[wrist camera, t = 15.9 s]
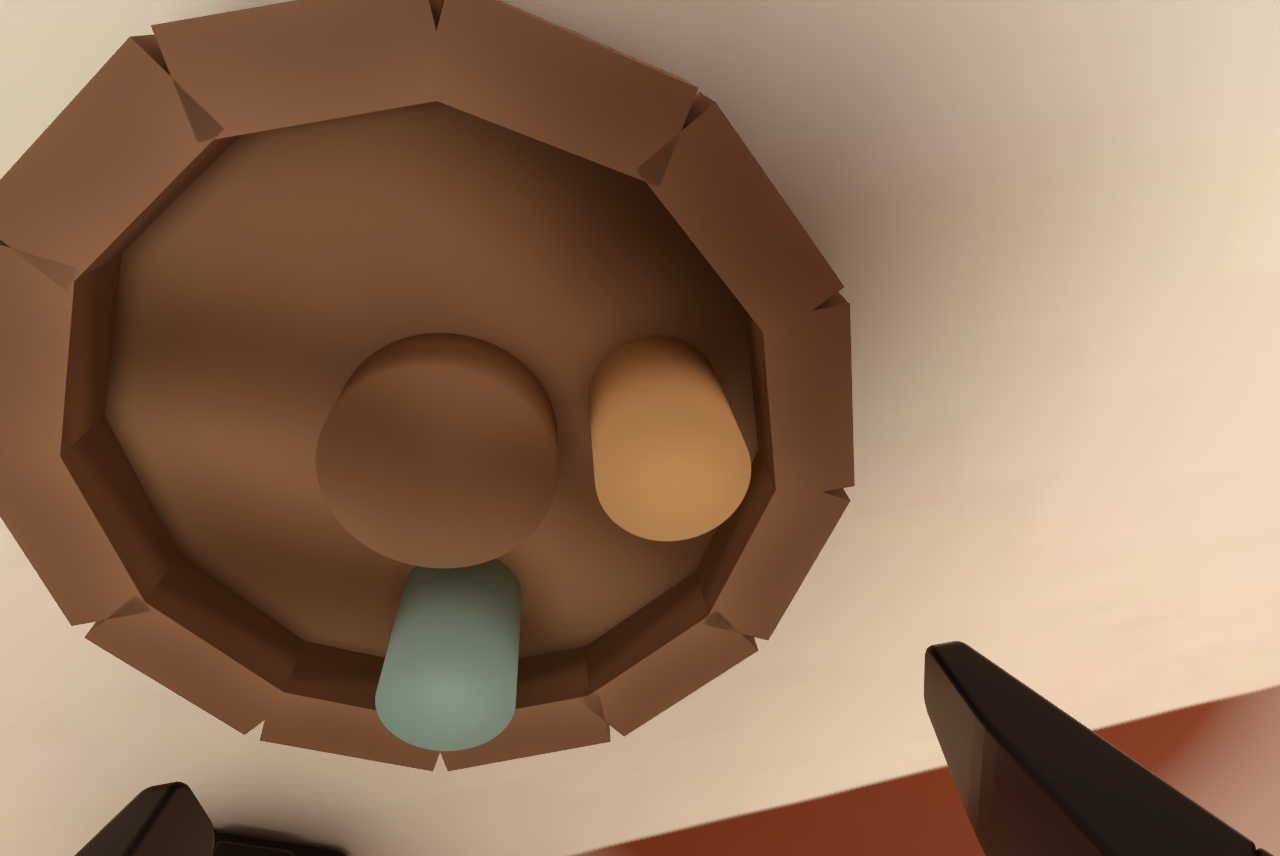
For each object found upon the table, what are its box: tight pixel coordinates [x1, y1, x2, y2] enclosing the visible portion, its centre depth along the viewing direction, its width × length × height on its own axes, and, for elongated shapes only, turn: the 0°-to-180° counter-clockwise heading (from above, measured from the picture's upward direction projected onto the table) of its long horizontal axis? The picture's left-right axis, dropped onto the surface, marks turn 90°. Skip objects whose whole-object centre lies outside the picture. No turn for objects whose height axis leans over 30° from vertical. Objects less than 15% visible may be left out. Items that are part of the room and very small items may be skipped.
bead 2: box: [588, 335, 751, 541], centre depth 19 cm, size 3×3×4 cm
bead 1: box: [375, 558, 522, 751], centre depth 21 cm, size 3×3×4 cm
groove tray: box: [0, 0, 854, 771], centre depth 20 cm, size 20×20×3 cm
